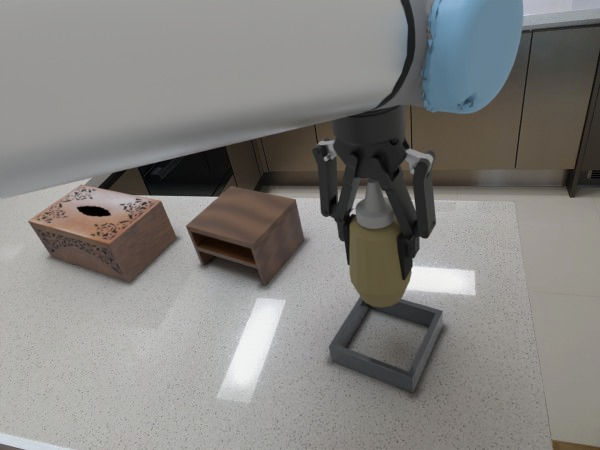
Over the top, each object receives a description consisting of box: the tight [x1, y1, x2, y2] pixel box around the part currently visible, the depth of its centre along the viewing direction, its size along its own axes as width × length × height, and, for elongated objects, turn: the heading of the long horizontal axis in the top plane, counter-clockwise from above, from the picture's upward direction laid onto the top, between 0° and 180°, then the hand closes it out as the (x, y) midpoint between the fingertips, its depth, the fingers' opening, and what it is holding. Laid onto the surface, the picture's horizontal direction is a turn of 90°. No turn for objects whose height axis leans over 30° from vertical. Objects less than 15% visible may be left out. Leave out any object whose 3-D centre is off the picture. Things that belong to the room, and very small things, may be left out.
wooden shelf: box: [185, 185, 305, 287], centre depth 89 cm, size 14×16×10 cm
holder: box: [328, 295, 444, 394], centre depth 68 cm, size 13×13×4 cm
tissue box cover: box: [27, 184, 178, 283], centre depth 99 cm, size 26×14×10 cm, turn 61°
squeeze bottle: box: [348, 178, 413, 308], centre depth 57 cm, size 8×8×18 cm
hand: (379, 265), depth 60 cm, fingers closed on squeeze bottle, 6 cm apart
